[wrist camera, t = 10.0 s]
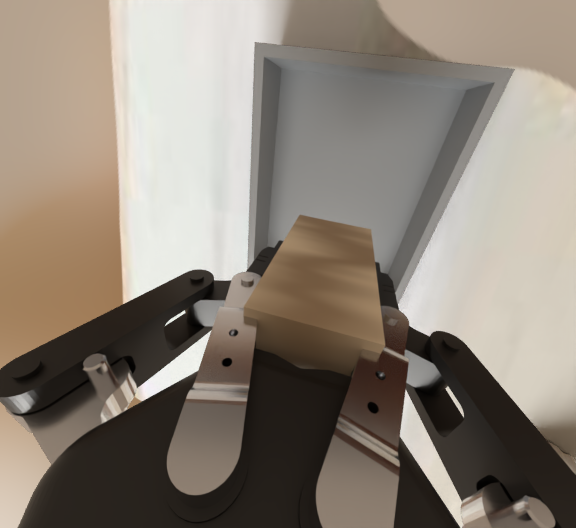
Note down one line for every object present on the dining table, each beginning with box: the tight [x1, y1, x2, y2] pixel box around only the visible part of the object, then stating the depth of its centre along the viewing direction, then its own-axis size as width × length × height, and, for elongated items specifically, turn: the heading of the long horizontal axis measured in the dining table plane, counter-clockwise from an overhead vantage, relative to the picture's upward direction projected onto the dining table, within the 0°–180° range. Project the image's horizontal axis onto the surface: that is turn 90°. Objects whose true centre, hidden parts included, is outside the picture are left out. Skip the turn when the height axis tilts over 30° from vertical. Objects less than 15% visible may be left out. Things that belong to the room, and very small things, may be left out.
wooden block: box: [243, 215, 385, 376], centre depth 11 cm, size 4×4×8 cm
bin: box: [247, 42, 515, 303], centre depth 21 cm, size 14×20×5 cm
